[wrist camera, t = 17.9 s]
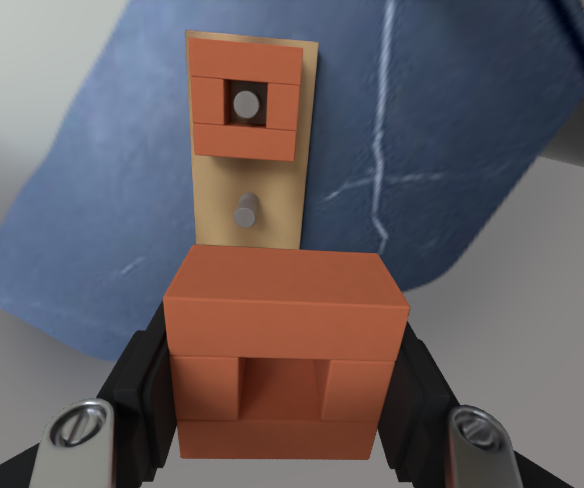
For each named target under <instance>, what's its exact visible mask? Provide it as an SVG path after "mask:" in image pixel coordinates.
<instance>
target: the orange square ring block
mask: <svg viewBox="0 0 584 488" xmlns="http://www.w3.org/2000/svg"><path fill="white" fill-rule="evenodd" d="M163 305H164V314H165V323H166V332H167V341H168V350H169V355H170V356H169V360H170V369H171V378H172V387H173V396H174V405H175V414H176V419H177V429H178V439H179V447H180V455H181V456H180V457H181V458H185V459H186V458H187V459H190V458H191V459H329V460H331V459H333V460H334V459H335V460H368V459H369V457H370V454H371V450H372V446H373V443H374V439H375V436H376V432H377V428H378V424H379V423H378V421H379V420H380V417H381V413H382V410H383V406H384V402H385V399H386V395H387V391H388V388H389V384H390V380H391V377H392V373H393V369H394V365H395V361H396V359H397V355H398V352H399V349H400V345H401V341H402V338H403V334H404V330H405V327H406V323H407V319H408V316H409V312H410V305H409V304H408V302H407V301H406V299H405V297H404V296H403V294H402V292H401V291H400V289H399V288H398V286H397V284H396V283H395V281H394V279H393V278H392V276H391V275H390V273H389V271H388V270H387V268H386V267H385V265H384V263H383V262H382V260H381V259H380V257H379V255H378V254H375V253H355V252H335V251H314V250H294V249H274V248H254V247H233V246H213V245H192V247H191V249H190V251H189V252H188V254H187V256H186V258H185V259H184V261H183V263H182V265H181V266H180V268H179V270H178V272H177V274H176V275H175V277H174V279H173V281H172V282H171V284H170V286H169V288H168V289H167V291H166V293H165V295H164V297H163Z"/></svg>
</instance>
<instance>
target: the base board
mask: <svg viewBox="0 0 584 488" xmlns="http://www.w3.org/2000/svg"><path fill="white" fill-rule="evenodd" d="M189 37H191V38H202V39H213V40H224V41H235V42H246V43H257V44H268V45H279V46H290V47H300V48H303V59H302V72H301V84H300V85H299V86H300V97H299V110H298V123H297V131H296V132H297V136H296V149H295V161H294V162H288V161H273V160H259V159H244V158H230V157H215V156H201V155H195V154H194V137H193V124H194V123H193V118H192V98H191V76H190V61H189V41H188V38H189ZM185 42H186V61H187V80H188V99H189V117H190V136H191V155H192V174H193V192H194V211H195V230H196V244H202V245H222V246H241V247H260V248H279V249H298V250H299V249H300V238H301V227H302V217H303V206H304V195H305V185H306V174H307V163H308V153H309V142H310V131H311V121H312V110H313V99H314V88H315V78H316V67H317V56H318V46H319V43H318V42H309V41H298V40H288V39H277V38H266V37H255V36H245V35H234V34H223V33H212V32H201V31H191V30H185ZM267 93H268V84H263V83H251V82H239V81H231V121H230V122H243V123H256V124H266V118H267Z"/></svg>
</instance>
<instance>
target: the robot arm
mask: <svg viewBox="0 0 584 488" xmlns="http://www.w3.org/2000/svg"><path fill="white" fill-rule="evenodd" d="M169 356H170V355H169V350H168V341H167V332H166V323H165V314H164V305H163V300H162V302H161V304H160V306H159V307H158V309H157V311H156V313H155V315H154V316H153V318H152V320H151V322H150V324H149V325H148V327H147V329H146V331H140V330H138V331H137V332H135V334H134V335H133V336H132V338H131V340H130V341H129V343H128V345H127V346H126V348H125V350H124V351H123V353H122V355H121V356H120V358H119V360H118V361H117V363H116V365H115V367H114V368H113V370H112V372H111V373H110V375H109V377H108V378H107V380H106V382H105V383H104V385H103V387H102V388H101V390H100V392H99V393H98V395H97V397H96V398H90V399H83V400H80V401H77V402H75V403H72V404H70V405H68V406H67V407H65V408H63V409H62V410H60V411H59V412H58V413H57V414H56V415H55V416H53V417H52V418H51V420H50V421H49V422H48V423H47V425H46V426H45V428H44V431H43V433H42V436H41V440H40V443H38V444H36V445H35V446H33V447H31V448H29V449H27V450H25V451H24V452H22V453H20V454H19V455H17V456H15V457H13V458H11V459H9V460H8V461H6V462H4V463H2V464H1V465H0V488H139V487H141V484H142V482H153V480H154V477H155V474H156V470H157V468H163V467H164V465H165V462H166V459H167V456H168V453H169V449H170V446H171V442H172V439H173V436H174V433H175V429H176V426H177V419H176V414H175V405H174V396H173V387H172V378H171V369H170V360H169ZM378 423H379V424H378V428H377V429H378V432H379V436H380V439H381V442H382V446H383V449H384V453H385V456H386V459H387V463H388V465H389V467H390V469H395V471H396V475H397V478H398V481H399V482H412V484H413V487H414V488H574V487H572V486H570V485H569V484H567V483H566V482H564V481H562V480H561V479H559V478H558V477H556V476H554V475H553V474H551V473H550V472H548V471H546V470H545V469H543V468H542V467H540V466H538V465H537V464H535V463H534V462H532V461H530V460H529V459H527V458H526V457H524V456H522V455H521V454H519V453H518V452H516V451H514V450H513V447H512V443H511V440H510V437H509V435H508V433H507V431H506V430H505V428H504V427H503V426H502V425H501V423H500V422H499V421H497V420H496V419H495V418H494V417H493V416H491V415H490V414H488V413H486V412H485V411H484V410H481V409H479V408H477V407H474V406H469V405H460V404H459V402H458V401H457V399H456V397H455V395H454V394H453V392H452V391H451V388H450V387H449V385H448V383H447V382H446V380H445V378H444V376H443V375H442V373H441V371H440V370H439V368H438V366H437V365H436V363H435V361H434V359H433V358H432V356H431V354H430V352H429V351H428V349H427V347H426V346H425V344H424V343H423V341H421V340H420V339H417V337H416V335H415V333H414V332H413V330H412V328H411V326H410V324H409V323H408V321H407V323H406V327H405V330H404V334H403V338H402V341H401V345H400V349H399V352H398V355H397V359H396V361H395V365H394V369H393V373H392V377H391V380H390V384H389V388H388V391H387V395H386V399H385V402H384V406H383V410H382V413H381V417H380V420H379V421H378Z"/></svg>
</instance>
